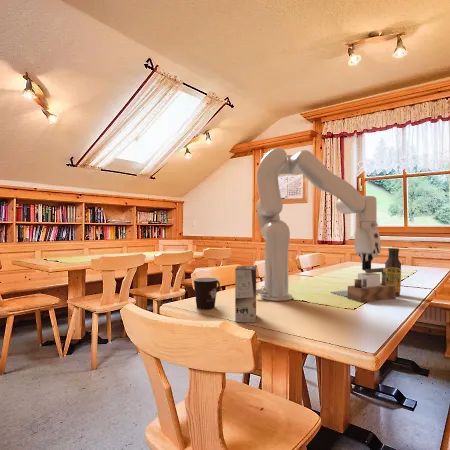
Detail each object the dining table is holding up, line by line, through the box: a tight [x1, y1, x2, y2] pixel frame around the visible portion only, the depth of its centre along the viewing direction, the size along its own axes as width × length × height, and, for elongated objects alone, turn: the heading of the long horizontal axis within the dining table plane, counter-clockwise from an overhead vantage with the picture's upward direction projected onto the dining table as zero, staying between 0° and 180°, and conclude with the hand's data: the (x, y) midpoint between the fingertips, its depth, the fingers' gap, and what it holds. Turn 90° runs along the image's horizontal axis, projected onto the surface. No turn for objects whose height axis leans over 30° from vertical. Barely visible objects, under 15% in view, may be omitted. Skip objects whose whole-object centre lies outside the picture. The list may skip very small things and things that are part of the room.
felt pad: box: [330, 289, 348, 298], centre depth 140 cm, size 12×9×1 cm
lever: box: [364, 267, 388, 274], centre depth 132 cm, size 10×3×1 cm, turn 112°
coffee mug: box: [193, 277, 221, 311], centre depth 117 cm, size 12×9×10 cm
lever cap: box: [357, 272, 381, 288], centre depth 130 cm, size 7×4×5 cm, turn 112°
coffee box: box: [234, 265, 257, 323], centre depth 103 cm, size 9×6×16 cm
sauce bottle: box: [384, 247, 402, 297], centre depth 138 cm, size 6×6×20 cm
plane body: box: [347, 272, 397, 303], centre depth 131 cm, size 18×7×10 cm, turn 112°
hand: (366, 270), depth 135 cm, fingers closed
